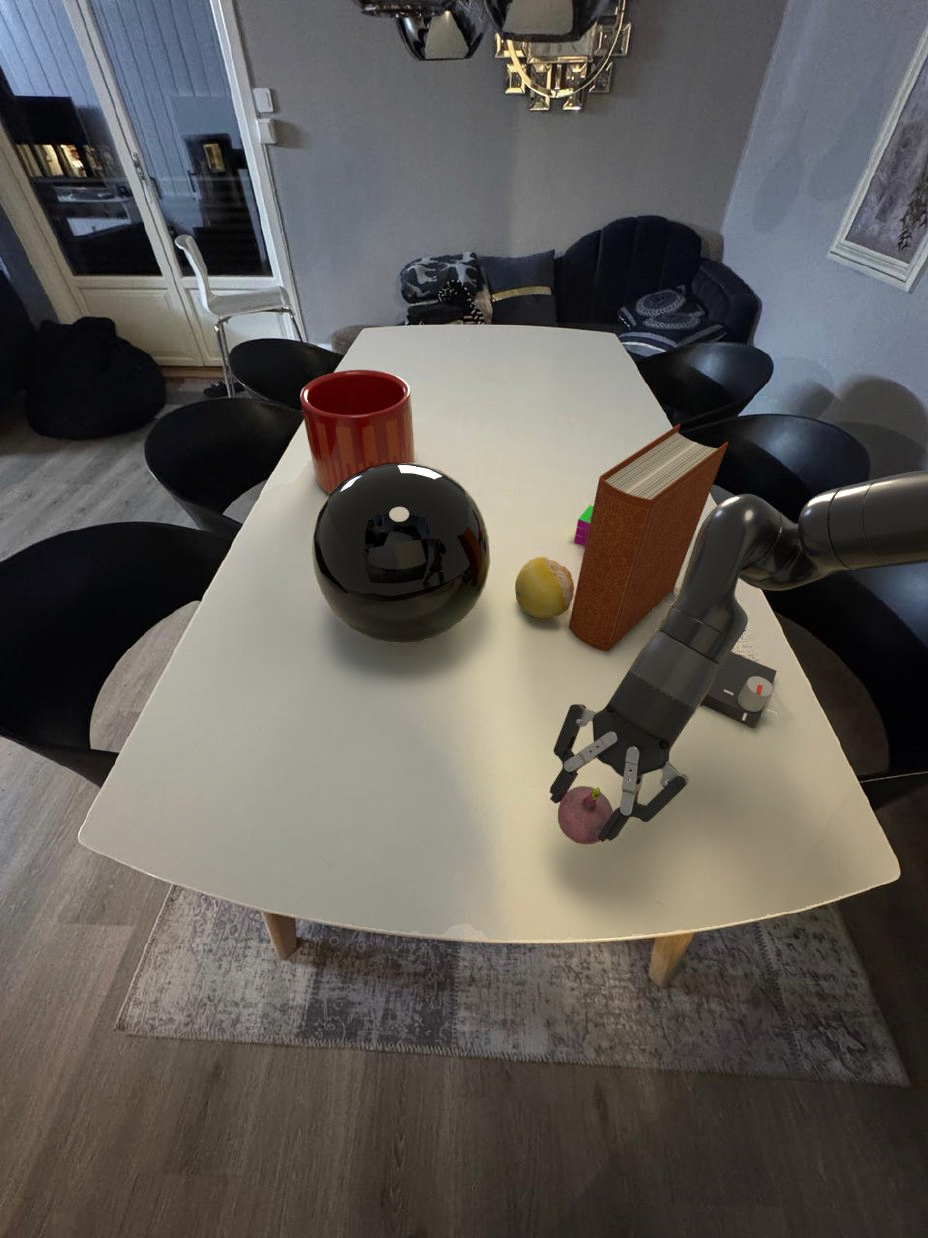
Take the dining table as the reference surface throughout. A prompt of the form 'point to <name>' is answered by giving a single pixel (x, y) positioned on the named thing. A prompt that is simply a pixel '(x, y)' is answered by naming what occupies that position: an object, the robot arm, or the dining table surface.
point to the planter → (356, 423)
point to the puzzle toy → (583, 526)
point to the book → (640, 535)
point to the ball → (400, 552)
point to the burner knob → (755, 694)
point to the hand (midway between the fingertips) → (578, 819)
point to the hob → (736, 688)
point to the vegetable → (584, 814)
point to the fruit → (544, 588)
